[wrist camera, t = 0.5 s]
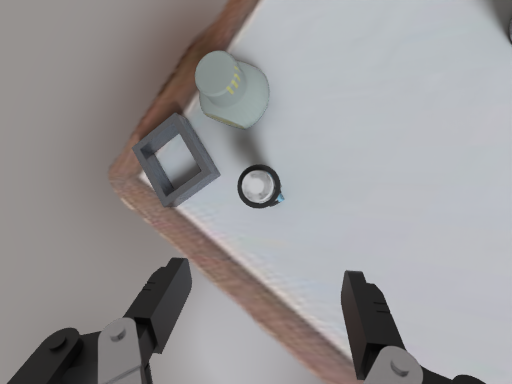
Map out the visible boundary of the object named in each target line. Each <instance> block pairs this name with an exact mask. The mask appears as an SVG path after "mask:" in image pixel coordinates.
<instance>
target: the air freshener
mask: <svg viewBox="0 0 512 384" xmlns="http://www.w3.org/2000/svg"><path fill="white" fill-rule="evenodd" d="M195 83H196V86H197V88H198V89H199V90H200V105H201V109H202V111H203V113H204V114H205V115H207V116H208V117H210V118H213V119H215V120H217V121H220V122H222V123H225V124H228V125H230V126H234V127H237V128H241V129H246V128H248V127H250V126H252V125H253V124H255V123H256V122H257V121H258V120H259V119H260V118H261V116H262V115H263V113H264V112H265V110H266V107H267V105H268V101H269V84H268V81H267V78H266V76H265V74H264V73H263V72H262V71H261V70H259V69H257V68H256V67H254V66H251V65H249V64H246V63H244V62H240V61H236V60H235V59H234V58H233V56H232V55H230V54H229V53H227V52H225V51H213V52H210V53H208V54H207V55H205V56H204V57H203V58H202V59H201V60H200V62H199V64H198V66H197V67H196V73H195Z"/></svg>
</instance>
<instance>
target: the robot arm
mask: <svg viewBox="0 0 512 384" xmlns="http://www.w3.org/2000/svg"><path fill="white" fill-rule="evenodd" d="M509 31H510V38H511V41H512V19H511V22H510V28H509ZM191 287H192V278H191V273H190V267H189V262H188V259H187V258H171V260H170V261H169V263H168V264H167V266H166V267H161V268H159V269H158V270H157V271H156V272H154V273H153V274H152V276H151V277H150V278H149V280H148V281H147V284H145V286H144V287H143V289H142V291H141V292H140V293H139V294H138V296H137V297H136V299H135V300H134V302H133V303H132V305H131V306H130V308H129V309H128V311H127V312H126V314H125V315H124V316H123V317H122V318H120V319H117V320H115V321H113V322H111V323H110V324H108V325H107V326H106V327H105V328H104V329H103V330H102V331H100V332H95V333H90V334H85V335H80V334H79V332H78V331H77V330H76V329H75V328H65V329H62V330H59V331H57V332H55V333H53V334H52V335H50V336H49V337H48V338H47V339H45V340H44V341H43V342H42V343H41V345H40V346H39V347H38V348H37V349H36V350H35V352H34V353H33V354H32V355H31V356H30V357H29V359H28V360H27V361H26V362H25V363H24V365H23V366H22V367H21V368H20V369H19V370H18V371H17V373H16V374H15V375H14V376H13V377H12V378H11V380H10V381H9V382H8V383H7V384H153V381H152V375H151V369H150V363H149V359H150V358H151V356H152V353H158V354H159V353H160V354H162V351H163V349H164V347H165V345H166V343H167V341H168V339H169V336H170V334H171V332H172V330H173V328H174V326H175V323H176V321H177V319H178V317H179V315H180V313H181V310H182V308H183V306H184V304H185V302H186V300H187V297H188V295H189V293H190V290H191ZM341 305H342V310H343V315H344V320H345V325H346V329H347V334H348V339H349V344H350V348H351V353H352V358H353V363H354V367H355V372H356V377H357V379H358V380H365V381H364V383H363V384H485V383H484V382H482V381H481V380H479V379H477V378H475V377H472V376H469V375H458V376H456V377H454V379H453V380H451V379H448V378H446V377H444V376H441V375H439V374H436V373H434V372H431V371H429V370H427V369H425V368H424V367H422V366H421V365H419V363H418V362H417V360H416V359H415V358H414V357H413V356H412V355H411V354H410V353H408V352H407V350H406V349H405V347H404V344H403V342H402V339H401V337H400V334H399V332H398V329H397V327H396V325H395V322H394V320H393V317H392V315H391V314H390V310H389V307H388V305H387V303H386V300H385V298H384V295H383V293H382V292H381V291H380V290H379V288H378V287H377V286H376V285H375V284H370V283H366V280H365V277H364V274H363V272H361V271H348V270H346V271H345V273H344V279H343V285H342V291H341Z"/></svg>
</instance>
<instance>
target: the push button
mask: <svg viewBox="0 0 512 384" xmlns="http://www.w3.org/2000/svg"><path fill="white" fill-rule="evenodd" d="M265 171H267V173H266V172H265ZM271 175H272V176H271ZM272 177H273V178H272ZM237 187H238V193H239V196H240V198H241V200H242V201H243V202H244V203H245V204H246V205H248V206H250V207H252V208H265V207H268V206H270V207H271V206H274V205H276V204H278V203H280V202H281V201H283V200H284V198H283V196H282V195H281V190H280V188H282V186H281V184H280V180H279V177H278V175H277V174H276V172H275V171H274V170H273V169H271V168H270V167H268V166H265V165H253V166H250V167H248V168H247V169H246V170H244V171H243V173H242V174H241V175H240V177H239V180H238V186H237ZM264 201H266V202H264ZM259 202H264V203H259Z"/></svg>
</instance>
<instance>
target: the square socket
mask: <svg viewBox="0 0 512 384" xmlns="http://www.w3.org/2000/svg"><path fill="white" fill-rule="evenodd" d="M179 133H180V135H181V137H182V138H183V140H184V142H185V143H186V145H187V147H188V149H189V150H190V152H191V154H192V155H193V157H194V159H195V161H196V162H197V164H198V166H199V167H200V169H201V172H200V173H198V174H197V175H195V176H194V177H193V178H191V179H190V180H189V181H187V182H186V183H185V184H183V185H182V186H180V187H179V188H178V189H176V190H174V189H173V187H172V185H171V183H170V181H169V180H168V178H167V176H166V174H165V172H164V171H163V169H162V167H161V165H160V163H159V162H158V160H157V158H156V156H155V154H154V153H155V152H156V151H157V150H159V149H160V148H161V147H162V146H164V145H165V144H166V143H167V142H169V141H170V140H171V139H172V138H174V137H175V136H176V135H178V134H179ZM132 149H133V151H134V153H135V155H136V157H137V159H138V160H139V162H140V164H141V166H142V168H143V170H144V172H145V173H146V175H147V177H148V179H149V181H150V183H151V185H152V186H153V188H154V190H155V192H156V194H157V196H158V197H159V199H160V201H161V203H162V205H163V207H177V206H178V205H180V204H181V203H182V202H184V201H185V200H187V199H188V198H189V197H191V196H192V195H194V194H195V193H196V192H198V191H199V190H201V189H202V188H203V187H205V186H206V185H208V184H209V183H211V182H212V181H213V180H215V179H216V178H218V177H219V176H220V173H219V172H218V170H217V168H216V167H215V165H214V163H213V162H212V160H211V158H210V157H209V155H208V153H207V152H206V150H205V148H204V147H203V145H202V143H201V142H200V140H199V138H198V137H197V135H196V133H195V132H194V130H193V128H192V127H191V125H190V123H189V122H188V120H187V119H186V118H184V117H183V116H181V115H179V114H178V113H176V112H175V113H174V114H172V115H171V116H170V117H169V118H168V119H166V120H165V121H164V122H163V123H161V124H160V125H159V126H158V127H156V128H155V129H154V130H153V131H152V132H150V133H149V134H148V135H147V136H145V137H144V138H143V139H142V140H141V141H139V142H138V143H137V144H136V145H134V146H133V147H132Z"/></svg>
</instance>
